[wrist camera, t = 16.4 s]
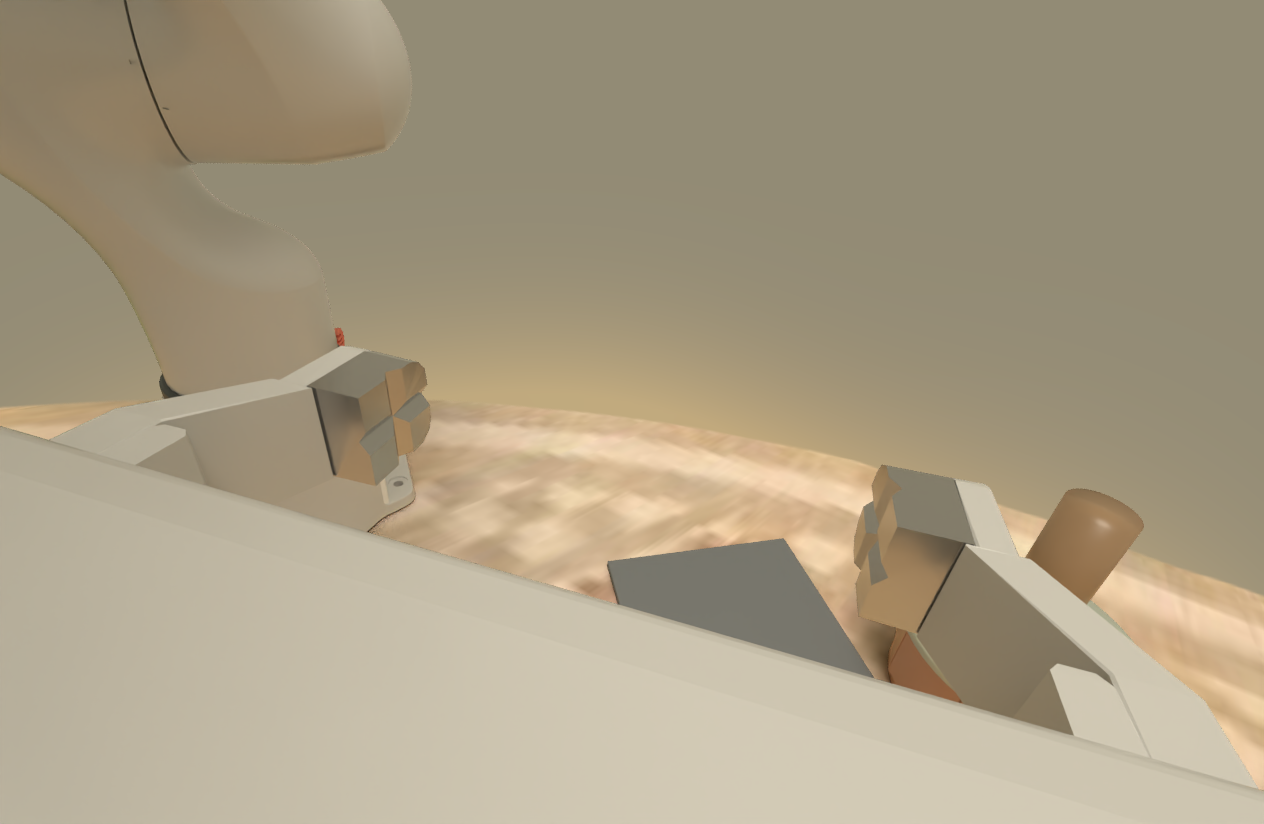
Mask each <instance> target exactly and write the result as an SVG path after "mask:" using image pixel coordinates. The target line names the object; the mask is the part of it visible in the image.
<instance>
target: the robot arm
mask: <svg viewBox="0 0 1264 824" xmlns="http://www.w3.org/2000/svg"><path fill="white" fill-rule="evenodd" d="M411 96H412V77H411V68H410V63H409V59H408V54H407V51H406V48H405V45H404V42H403V39H402V37H401V34H400V32H399V30H398V28H397V26H396V24H395V22H394V21H393V19H392V17H391V15H390V13H389V12H388V10H387V9H386V7H385V6H384V4H383V3H382V2H381V0H0V174H1V175H2V176H4V177H5V178H7V179H8V180H10V181H11V182H13V183H15V184H16V185H18V186H19V187H21V188H22V189H24V190H25V191H27V192H28V193H29V194H31V195H32V196H33V197H35V198H36V199H38V200H39V201H40V202H42V203H43V204H45V205H46V206H47V207H48V208H49V209H51V210H52V211H53V212H54V213H56V214H57V215H58V216H59V217H61V218H62V219H63V220H64V221H65V222H66V223H67V224H68V225H69V226H71V227H72V228H73V229H74V230H75V231H76V232H77V233H78V234H79V235H80V236H82V238H83V239H84V240H85V241H86V242H87V243H88V244H89V245H90V246H91V247H92V248H93V249H94V250H95V252H96V253H97V254H98V255H99V256H100V257H101V259H102V260H103V261H104V262H105V264H106V265H107V266H108V267H109V269H110V270H111V271H112V273H113V274H114V276H115V277H116V279H117V280H118V282H119V284H120V285H121V287H122V289H123V290H124V292H125V294H126V296H127V297H128V300H129V302H130V303H131V305H132V307H133V309H134V311H135V313H136V315H137V317H138V319H139V321H140V323H141V325H142V328H143V329H144V332H145V334H146V336H147V338H148V340H149V343H150V345H151V347H152V349H153V352H154V354H155V356H156V358H157V361H158V363H159V366H160V368H161V371H162V375H161V377H160V381H159V383H160V388H161V391H162V394H163V397H162V398H163V399H162V400H158V401H152V402H147V403H142V404H137V405H132V406H126V407H121V408H116V409H113V410H111V411H109V412H107V413H105V414H103V415H101V416H98V417H96V418H94V419H92V420H90V421H88V422H86V423H84V424H82V425H79V426H77V427H75V428H73V429H71V430H69V431H67V432H65V433H62V434H60V435H58V436H56V437H54V438H52V439H50V440H47V439H43V438H40V437H36V436H33V435H30V434H26V433H23V432H19V431H16V430H12V429H9V428H5V427H2V426H0V824H1264V791H1263V790H1260V789H1258V787H1257V785H1256V784H1255V782H1254V780H1253V779H1252V777H1251V776H1250V774H1249V772H1248V771H1247V769H1246V767H1245V766H1244V764H1243V763H1242V761H1241V759H1240V758H1239V756H1238V754H1237V753H1236V751H1235V749H1234V748H1233V746H1232V745H1231V743H1230V741H1229V740H1228V738H1227V736H1226V735H1225V733H1224V731H1223V730H1222V728H1221V727H1220V725H1219V723H1218V722H1217V720H1216V718H1215V717H1214V715H1213V713H1212V712H1211V710H1210V709H1209V707H1208V705H1207V704H1206V702H1205V701H1204V700H1203V699H1202V698H1201V697H1199V696H1198V695H1197V694H1196V693H1194V692H1193V691H1192V690H1191V689H1190V688H1188V687H1187V686H1186V685H1185V684H1183V683H1182V682H1181V681H1180V680H1178V679H1177V678H1176V677H1175V676H1174V675H1172V674H1171V673H1170V672H1169V671H1167V670H1166V669H1165V668H1164V667H1163V666H1161V665H1160V664H1159V663H1158V662H1156V661H1155V660H1154V659H1153V658H1151V657H1150V656H1149V655H1148V654H1147V653H1145V652H1144V651H1143V650H1142V649H1140V648H1139V647H1138V646H1137V645H1135V644H1134V643H1133V642H1132V641H1131V640H1129V639H1128V638H1127V637H1126V636H1124V635H1123V634H1122V633H1121V632H1119V631H1118V630H1117V629H1116V628H1115V627H1113V626H1112V625H1111V624H1110V623H1108V622H1107V621H1106V620H1105V619H1103V618H1102V617H1101V616H1100V615H1099V614H1097V613H1096V612H1095V611H1094V610H1092V609H1091V608H1090V607H1089V606H1087V605H1086V604H1085V603H1084V602H1083V601H1081V600H1080V599H1079V598H1078V597H1076V596H1075V595H1074V594H1073V593H1071V592H1070V591H1069V590H1068V589H1067V588H1065V587H1064V586H1063V585H1062V584H1060V583H1059V582H1058V581H1057V580H1055V579H1054V578H1053V577H1052V576H1051V575H1049V574H1048V573H1047V572H1046V571H1044V570H1043V569H1042V568H1041V567H1040V566H1038V565H1037V564H1036V563H1035V562H1033V561H1032V560H1031V559H1027V558H1023V557H1019V555H1018V552H1017V550H1016V548H1015V545H1014V543H1013V541H1012V538H1011V536H1010V534H1009V531H1008V529H1007V526H1006V524H1005V522H1004V519H1003V517H1002V515H1001V512H1000V510H999V508H998V505H997V503H996V501H995V498H994V496H993V493H992V491H991V489H990V488H989V487H988V486H987V485H985V484H981V483H976V482H970V481H965V480H959V479H954V478H948V477H943V476H938V475H933V474H928V473H922V472H917V471H912V470H907V469H902V468H897V467H892V466H886V465H881V467H880V468H879V470H878V472H877V474H876V476H875V479H874V481H873V483H872V492H873V501H872V502H871V503H869V504H867V505H866V506H864V507H863V510H862V512H861V515H860V518H859V521H858V524H857V529H856V534H855V538H854V563H855V564H856V565H857V567H858V568H859V569H860V570H861V571H860V574H859V576H858V579H857V581H856V596H857V608H858V617H861V618H865V619H868V620H872V621H875V622H878V623H882V624H885V625H888V626H892V627H895V628H899V629H902V630H905V631H909V632H912V633H915V634H917V638H918V639H919V641H920V642H921V644H922V645H923V647H924V648H925V649H926V651H927V652H928V654H929V655H930V657H931V658H932V659H933V661H934V662H935V664H936V665H937V667H938V668H939V670H940V671H941V672H942V674H943V675H944V677H945V678H946V680H947V681H948V682H949V684H950V685H951V687H952V688H953V690H954V691H955V692H956V694H957V695H958V697H959V698H960V700H961V701H962V703H963V704H962V703H958V702H955V701H951V700H948V699H944V698H941V697H937V696H934V695H931V694H927V693H924V692H920V691H917V690H913V689H910V688H906V687H903V686H899V685H896V684H892V683H889V682H885V681H882V680H878V679H875V678H871V677H867V676H864V675H861V674H857V673H854V672H850V671H847V670H843V669H840V668H836V667H833V666H829V665H826V664H823V663H819V662H816V661H812V660H809V659H805V658H802V657H798V656H795V655H791V654H788V653H784V652H781V651H778V650H774V649H771V648H767V647H764V646H760V645H757V644H753V643H750V642H746V641H743V640H740V639H736V638H733V637H729V636H726V635H722V634H719V633H715V632H712V631H708V630H705V629H701V628H698V627H695V626H691V625H688V624H684V623H681V622H677V621H674V620H670V619H667V618H663V617H660V616H657V615H653V614H650V613H646V612H643V611H639V610H636V609H632V608H629V607H625V606H622V605H618V604H615V603H612V602H608V601H605V600H601V599H598V598H594V597H591V596H587V595H584V594H580V593H577V592H573V591H570V590H566V589H563V588H560V587H556V586H553V585H549V584H546V583H542V582H539V581H535V580H532V579H528V578H525V577H521V576H518V575H514V574H511V573H507V572H504V571H500V570H497V569H493V568H490V567H486V566H483V565H479V564H476V563H472V562H469V561H465V560H462V559H459V558H455V557H452V556H448V555H445V554H441V553H438V552H434V551H431V550H427V549H424V548H420V547H417V546H414V545H410V544H407V543H403V542H400V541H396V540H393V539H389V538H386V537H382V536H379V535H376V534H372V533H369V532H367V531H368V530H369V529H370V528H371V527H373V526H374V525H375V524H376V523H377V522H378V521H379V520H381V519H382V518H383V517H385V516H386V515H389V514H391V513H393V512H395V511H397V510H399V509H401V508H403V507H405V506H407V505H408V504H410V503H411V502H412V501H413V500H414V499H415V490H414V486H413V481H412V477H411V473H410V468H409V464H408V460H407V455H406V454H407V453H410V452H413V451H415V450H416V449H417V448H418V447H419V446H420V445H421V444H422V443H423V441H424V439H425V437H426V435H427V433H428V431H429V428H430V421H431V412H430V405H429V403H428V402H427V401H426V399H425V398H424V396H423V395H422V394H421V393H422V391H423V390H424V388H425V387H426V385H427V380H426V374H425V369H424V368H423V367H422V366H421V365H420V363H419V362H415V361H412V360H408V359H403V358H399V357H395V356H391V355H387V354H383V353H378V352H374V351H370V350H367V349H362V348H357V347H352V346H344V335H343V332H342V330H341V328H334V324H333V320H332V315H331V310H330V305H329V300H328V295H327V290H326V286H325V281H324V276H323V271H322V268H321V266H320V264H319V262H318V261H317V259H316V257H315V256H314V255H313V253H312V252H311V251H310V250H309V249H308V248H307V247H306V246H305V245H304V244H303V243H302V242H301V241H299V240H298V239H297V238H295V237H294V236H293V235H291V234H289V233H288V232H286V231H284V230H283V229H281V228H279V227H277V226H275V225H272V224H270V223H267V222H265V221H262V220H260V219H257V218H254V217H252V216H249V215H246V214H244V213H241V212H239V211H236V210H234V209H232V208H231V207H229V206H227V205H226V204H224V203H223V202H221V201H220V200H218V199H217V198H216V197H215V196H214V195H212V194H211V193H210V192H209V191H208V190H207V189H206V188H205V187H204V186H203V185H202V183H201V182H200V181H199V179H198V178H197V176H196V175H195V173H194V172H193V170H192V168H191V166H190V165H193V164H197V163H239V164H300V165H301V164H302V165H316V164H321V163H328V162H334V161H340V160H346V159H352V158H357V157H362V156H367V155H371V154H376V153H381V152H385V151H387V149H388V148H389V147H390V146H391V145H392V144H393V143H394V141H395V140H396V139H397V137H398V136H399V134H400V132H401V130H402V128H403V126H404V124H405V121H406V119H407V116H408V112H409V109H410V103H411Z"/></svg>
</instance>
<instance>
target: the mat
mask: <svg viewBox="0 0 1264 824" xmlns="http://www.w3.org/2000/svg"><path fill="white" fill-rule="evenodd" d="M607 566H608V570H609V573H610V577H611V580H612V584H613V588H614V591H615V595H616V598H617V602H618V605H622V606H625V607H629V608H632V609H636V610H639V611H643V612H646V613H650V614H653V615H657V616H660V617H663V618H667V619H670V620H674V621H677V622H681V623H684V624H688V625H691V626H695V627H698V628H701V629H705V630H708V631H712V632H715V633H719V634H722V635H726V636H729V637H733V638H736V639H740V640H743V641H746V642H750V643H753V644H757V645H760V646H764V647H767V648H771V649H774V650H778V651H781V652H784V653H788V654H791V655H795V656H798V657H802V658H805V659H809V660H812V661H816V662H819V663H823V664H826V665H829V666H833V667H836V668H840V669H843V670H847V671H850V672H854V673H857V674H861V675H864V676H867V677H871V678H874V677H873V675H872V674H871V672H870V671H869V669H868V668H867V666H866V665H865V663H864V662H863V660H862V658H861V657H860V655H859V654H858V652H857V651H856V649H855V648H854V646H853V645H852V643H851V641H850V640H849V638H848V637H847V635H846V634H845V632H844V631H843V629H842V628H841V626H840V624H839V623H838V621H837V620H836V618H835V617H834V615H833V614H832V612H831V611H830V609H829V608H828V606H827V604H826V603H825V601H824V600H823V598H822V597H821V595H820V594H819V592H818V591H817V589H816V587H815V586H814V584H813V583H812V581H811V580H810V578H809V577H808V575H807V574H806V572H805V571H804V569H803V567H802V566H801V564H800V563H799V561H798V560H797V558H796V557H795V555H794V554H793V552H792V550H791V549H790V547H789V546H788V544H787V543H786V541H785V540H784V538H783V539H775V540H768V541H760V542H753V543H745V544H737V545H730V546H722V547H714V548H707V549H699V550H691V551H684V552H676V553H668V554H661V555H653V556H646V557H638V558H630V559H623V560H615V561H608V565H607Z"/></svg>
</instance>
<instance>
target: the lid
mask: <svg viewBox="0 0 1264 824" xmlns="http://www.w3.org/2000/svg"><path fill="white" fill-rule="evenodd" d="M1143 528H1144V524H1143V521H1142V520H1141V518H1140V517H1139V516H1138V515H1137V514H1136V513H1135V512H1134V511H1133V510H1132V509H1130V508H1129V507H1128V506H1126V505H1125V504H1123V503H1122V502H1120V501H1118V500H1116V499H1114V498H1112V497H1110V496H1107V495H1105V494H1102V493H1099V492H1096V491H1092V490H1087V489H1071V490H1068V491H1067V492H1066V493H1065V495H1064V496H1063V498H1062V499H1061V501H1060V502H1059V504H1058V506H1057V507H1056V509H1055V511H1054V512H1053V514H1052V515H1051V517H1050V519H1049V520H1048V522H1047V523H1046V525H1045V527H1044V528H1043V530H1042V531H1041V533H1040V535H1039V536H1038V538H1037V540H1036V541H1035V543H1034V544H1033V546H1032V548H1031V549H1030V551H1029V552H1028V554H1027V556H1026V557H1025V558H1027V559H1031V560H1032V561H1033V562H1035V563H1036V564H1037V565H1038V566H1040V567H1041V568H1042V569H1043V570H1044V571H1046V572H1047V573H1048V574H1049V575H1051V576H1052V577H1053V578H1054V579H1055V580H1057V581H1058V582H1059V583H1060V584H1062V585H1063V586H1064V587H1065V588H1067V589H1068V590H1069V591H1070V592H1071V593H1073V594H1074V595H1075V596H1076V597H1078V598H1079V599H1080V600H1081V601H1083V602H1084V603H1085V604H1086V605H1087V606H1089V607H1090V608H1091V609H1092V610H1094V611H1095V612H1096V613H1097V614H1099V615H1100V616H1101V617H1102V618H1103V619H1105V620H1106V621H1107V622H1108V623H1110V624H1111V625H1112V626H1113V627H1115V628H1116V629H1117V630H1118V631H1119V632H1121V633H1122V634H1123V635H1124V636H1126V637H1127V638H1128V639H1129V640H1131V638H1130V637H1129V636H1128V635H1127V634H1126V633H1125V632H1124V630H1123V629H1122V628H1121V627H1120V626H1119V625H1118V624H1117V623H1116V622H1115V621H1114V620H1113V619H1112V618H1111V617H1110V616H1109V615H1108V614H1107V613H1105V612H1104V611H1103V610H1102V609H1101V608H1099V607H1098V606H1097V605H1096V604H1095V603H1093V602H1092V601H1091V598H1092V597H1093V596H1094V594H1095V593H1096V592H1097V590H1098V589H1099V588H1100V586H1101V585H1102V584H1103V582H1104V581H1105V580H1106V578H1107V577H1108V576H1109V574H1110V573H1111V571H1112V570H1113V569H1114V567H1115V566H1116V565H1117V563H1118V562H1119V561H1120V559H1121V558H1122V557H1123V555H1124V554H1125V553H1126V551H1127V550H1128V549H1129V547H1130V546H1131V545H1132V543H1133V542H1134V540H1135V539H1136V538H1137V537H1138V535H1139V534H1140V532H1141V531H1142V530H1143ZM907 632H908V634H909V636H910V638H911V640H912V642H913V644H914V645H915V647H916V648H917V650H918V651H919V653H920V654H921V656H922V657H923V659H924V660H925V661H926V662H927V664H928V665H929V666H930V667H931V668H932V670H933V671H934V672H935V673H936V674H937V675H938V676H939V677H940V678H941V679H942V680H943V681H944V682H945V683H946V684H947V685H948V686H949V687H950V688H951V689H952V690H953V688H952V687H951V685H950V684H949V682H948V681H947V680H946V678H945V677H944V675H943V674H942V672H941V671H940V670H939V668H938V667H937V665H936V664H935V662H934V661H933V659H932V658H931V657H930V655H929V654H928V652H927V651H926V649H925V648H924V647H923V645H922V644H921V642H920V641H919V639H918V638H917V634H915V633H912V632H909V631H907ZM1131 641H1132V640H1131ZM1132 642H1133V641H1132ZM1133 643H1134V642H1133ZM953 691H954V690H953Z"/></svg>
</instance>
